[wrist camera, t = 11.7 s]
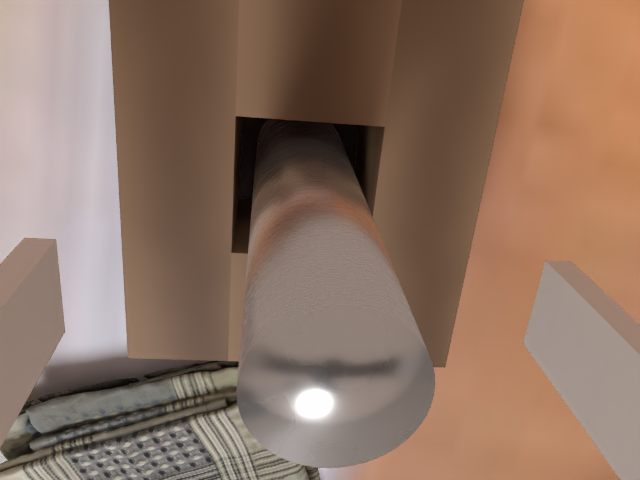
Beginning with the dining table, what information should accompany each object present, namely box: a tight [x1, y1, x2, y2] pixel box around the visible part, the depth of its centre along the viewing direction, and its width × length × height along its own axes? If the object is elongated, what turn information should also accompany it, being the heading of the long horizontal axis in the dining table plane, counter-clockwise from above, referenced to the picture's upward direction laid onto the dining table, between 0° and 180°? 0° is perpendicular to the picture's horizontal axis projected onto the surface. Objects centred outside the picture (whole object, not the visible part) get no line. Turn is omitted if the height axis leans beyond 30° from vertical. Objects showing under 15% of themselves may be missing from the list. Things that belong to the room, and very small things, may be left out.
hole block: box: [109, 0, 524, 367], centre depth 25 cm, size 14×16×6 cm
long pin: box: [236, 119, 435, 468], centre depth 20 cm, size 4×4×18 cm
